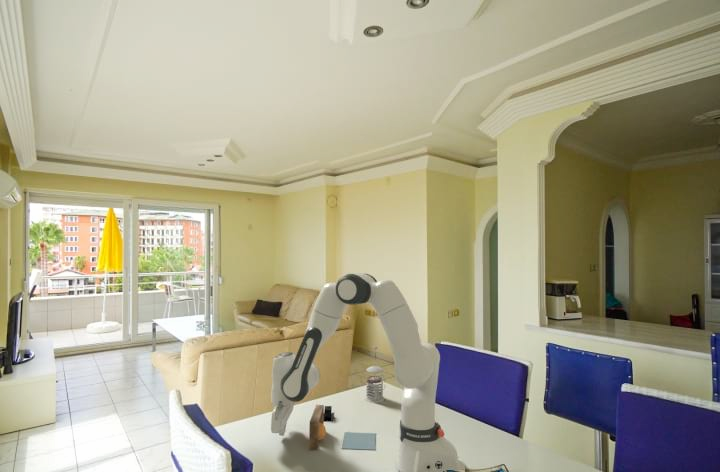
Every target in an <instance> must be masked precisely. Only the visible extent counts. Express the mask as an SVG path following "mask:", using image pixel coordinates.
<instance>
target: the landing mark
mask: <svg viewBox="0 0 720 472" xmlns="http://www.w3.org/2000/svg"><path fill="white" fill-rule="evenodd" d="M341 450H361V451H362V450H365V451H376V433H374V432H372V433H371V432H350V431H349V432H348V431H345V432H344V433H343V439H342V445H341Z"/></svg>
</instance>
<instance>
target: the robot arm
mask: <svg viewBox="0 0 720 472" xmlns="http://www.w3.org/2000/svg"><path fill="white" fill-rule="evenodd" d="M366 303H368V304H370V305H372V307H373V309H374V311H375V313H376V314H377V317H378V319H379V320H380V321H379V322H380V323H381V325H382V328H383V330H384V332H385V334H386V338H387V339H388V342H389V346H390V350H391V354H392V359H393V364H394V366H393V367H394V368H393V373H394V376H395V379H396V381H397V382H398V384H400V385H401V386H402V387H403V391H402V395H401V405H400V406H401V408H400V409H401V411H400V412H401V415H400V417H401V419H400V421H399V440H400V441H399V447H398V452H397V453H398V454H397V458H396V460H395V467H396V469H397V470H398V471H399V472H443V471H446V470H459V469H466V466H465V463H464V461H463V460H462V459H461V458H460V456H458V452H457V449H456V446H455V445H454V444H453V443H452V442H451V441H450V440H449V439H448V438H446V437H445V432H444V430H443V429H442V427H441V425H440V424H439V422H438V421H436V396H437V387H438V379H439V371H440V370H439V369H440V362H441V355H440V354H441V353H440V351H439V349H438V348H437V347H436V346H435V345H434V344H432V343H429V342H421V338H420V333H419V326H418V322H417V320H416V318H415V316H414V315H413V313H412V310H411V309H410V308H411V307H410V306H409V304H408V302H407V300H406V299H405V297H404V295H403V293H402V292H401V290H400V288H399V287H398V286H397V284H396V283H395V282H394V281H393V280H391V279H381V280H379V281H377V279H376V278H375V277H374V276H373V275H371V274H368V273H361V272H353V273H347V274H344V275H343V276H341V277H340V278H339V279H338V280H337V282H327V283H326V284H324V285H323V286H322V288H321V290H320V292H319V294H318V296H317V297H316V300H315V302H314V306H313V307H312V308H313V309H312V311H311V314H310V317H309V319H308V324H307V326H306V329H305V332H304V335H303V339H302V340H301V343H300V344H299V348H298V350H297V352H296V353H294V352H290V351H288V352H283V353H279V354H278V355H276V356H274V358H273V361H272V365H271V367H272V368H271V381H272V385H271V389H270V390H271V392H270V395H271V396H270V403H271V404H272V405H273V406H274V408H273V410H272V412H271V419H270V420H271V421H270V422H271V424H270V432H271V433H272V434H278V435H279V436H280V437H281V436H284V435H285V433H286V431H287V429H286V428H287V424H288V421H289V418H290V416H291V414H292V413H293V411H294V406H295V403H297V402H301V401H303V399H304V398H305V397H306V396H307V395H308V393H310V392H311V391H312V390H313V388H315V386H317V384H318V383H319V382H320V380H321V371H320V370H319V369H320V368H319V367H318V366H317V365H316V364H315V363H314V360H315V358H316V357H317V353H318V352H319V350H320V349H321V347H323V345H324V344H325V343H326V342H327V341H328V340H329V339H330V338H331V337H332V336H333V335H334V334H335V332H336V331H337V330H338V327H339V326H340V323H341V320H342V317H343V315H344V312H345V309H346V307H347V306H348V305H352V306H355V305H362V304H366Z"/></svg>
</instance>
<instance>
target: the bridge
mask: <svg viewBox="0 0 720 472" xmlns="http://www.w3.org/2000/svg"><path fill="white" fill-rule="evenodd" d="M324 409H325V405H324V404H316V405H315V408H314V409H313V412H312V415H311V416H310V417H311V418H310V420H309V427H308V428H309V429H308V430H309V432H308V433H309V434H308V436H309V437H308V440H309V441H308V443H309V444H308V450H309V451H318V449H319V440H318V438H319V423H322V424H323V425H324Z"/></svg>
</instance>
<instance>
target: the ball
mask: <svg viewBox="0 0 720 472" xmlns="http://www.w3.org/2000/svg"><path fill="white" fill-rule="evenodd" d="M326 432H327V429H326V427H325V425H324V424H322V423H319V438H318V441H320V440H322V439H324V438H325V436H326Z"/></svg>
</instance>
